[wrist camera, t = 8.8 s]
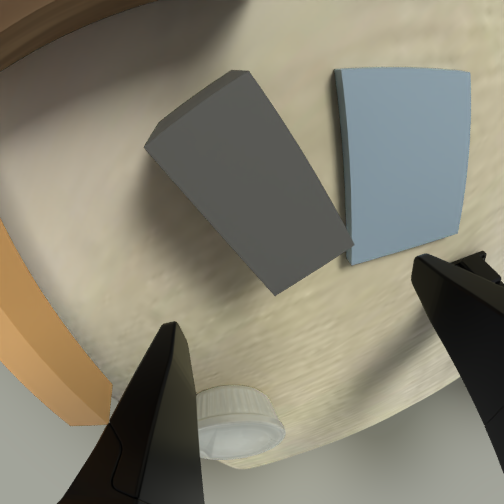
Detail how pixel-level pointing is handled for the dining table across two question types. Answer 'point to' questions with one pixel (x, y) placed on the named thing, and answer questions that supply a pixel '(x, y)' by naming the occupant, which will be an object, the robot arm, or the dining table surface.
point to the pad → (402, 155)
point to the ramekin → (236, 423)
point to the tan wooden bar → (46, 348)
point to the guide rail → (48, 22)
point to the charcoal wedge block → (250, 180)
